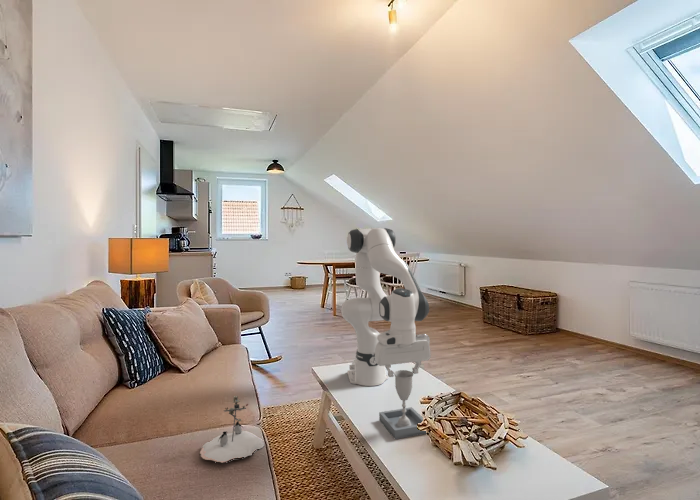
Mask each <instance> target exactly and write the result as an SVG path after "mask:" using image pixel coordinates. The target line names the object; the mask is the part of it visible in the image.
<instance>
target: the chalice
mask: <svg viewBox="0 0 700 500" xmlns="http://www.w3.org/2000/svg"><path fill="white" fill-rule="evenodd" d="M393 372H394V374H393V375H394V377H395V380H394V381H395V382H394V384H395V385H394V387H395V390H396V393H397V395H398V397H399V399H400V401H402V404H401V407H402V408H401V409H402V412H403V416H401V417H400V418H399V420H398V423H397V425H398V426H399V427H407V426H411V423H410V420H409V418H408V417H406V415H405V413H406V409H405V408H407V404H406V401H408V400H409V398H410V396H411V393H412V389H413V376H414V373H413V372H412V370H411V371H410V370H406V369H400V370H396V371H393Z"/></svg>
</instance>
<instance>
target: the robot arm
mask: <svg viewBox="0 0 700 500" xmlns="http://www.w3.org/2000/svg"><path fill="white" fill-rule="evenodd" d="M396 239H397V238H396V234H395V232H394V230H392V229H390V228H386V227H384V228H382V227H369V228H361V229H359V228H355V229H351V230H350V231H349V232H348V234H347V237H346V245H347V248H348V250H349V251H350V252H352V253H356V255H355V283H356V286H357V287H358V288H360V289H361V290H363V291H365V292H367V294H368V297H355V298H350V299H347V300H344V301H343V303H342V305H341V308H340V312H341V316H342V318H343V320H345V322H347V323H348V324H350V325H351V326H352V328H353V329H354V332H355V335H356V348H357V349H356V352H355V358H354V360H352V362H351V364H350V365H349V370H347V371H346V372H347V376H348V377H347V378H348V381H349V383H350V384H351V385H352V384H353V385H354V384H355V385H359V386H363V387H365V386H366V387H374V386H379V385H382V384H384V383H385V382H386V381H387V380H388V379H389V378H393V377H395V375H394V372H395V371H393V370H391V369H390V368H392V367H391V366H392V365H401V364H407V363H415V365H414V367H412V370H411V372H412V373H413V375H416V374H419V369H420V367H421V365H422V362H425V361H429V360H430V359H431V358H432V357H431V355H432V354H431V348H430V343H431V341H430V340H431V339H430V336H429V335H428V334H426V333H422V334H417V333H416V331H417V329H416V327H417V326H416V323H415V322H422V321H423V320H424V319H426V317H427V316H428V315H429V313H430V304H429V301H428V299H427V297H426V296H425V295H424V293H423V292H422V290H421V289H420V286H419V284H418V282H417V280H416V277H415V276H414V274H413V272H412V270H411V268H410V266H409V265H408V263H407V262H406V260H403V259H402V258H401V257H400V256H399V255H398V254H397V252H396V251H395V246H396ZM380 274H385V275H388V276H392V277H394V278H396V279H398V280H399V281H400V282H401V283H402V285H403V287H404V288H396V289H393V290H392V291H391V294H390V295H389V294H388V295H387V294H386V293H385V291H384V289H383V288H382V284H381V277H380V276H381V275H380ZM375 321H379V322H380V321H386V322H390V327H389V330H386V331H384V332H383V333H380V332H379V331H378V330H377V329H375V328H373V327H370V326H369V322H375ZM386 370H387V372H386ZM386 373H387V374H386Z"/></svg>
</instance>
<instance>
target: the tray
mask: <svg viewBox="0 0 700 500" xmlns="http://www.w3.org/2000/svg"><path fill="white" fill-rule="evenodd" d="M402 409H403V408H398V409H391V410H385V411H379V413H378V414H379V418H378V419H379V421H380V423H381V424H382V426H384V428H385V429H386V430H387V431H388V433H389V434H390V435H391V436H392V438H393V439H394V440H399V439H406V438H409V437H410V438H412V437H417V436H420V435H421V436H422V435H427V434H426V431H420V430H418V429H417V424H418V423H421V422H422V421H423V418H424V417H423V416H421V414H420V413H419V412H418V411H416V410H415V409H414V408H413V407H412V406H411V407H405V409H406V413H405V415H406V417H408V418H409V420H410V423H411V426H407V427H399V426H398V425H397V423H398V420H399V418H400V417H401V416H403V412H402Z"/></svg>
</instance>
